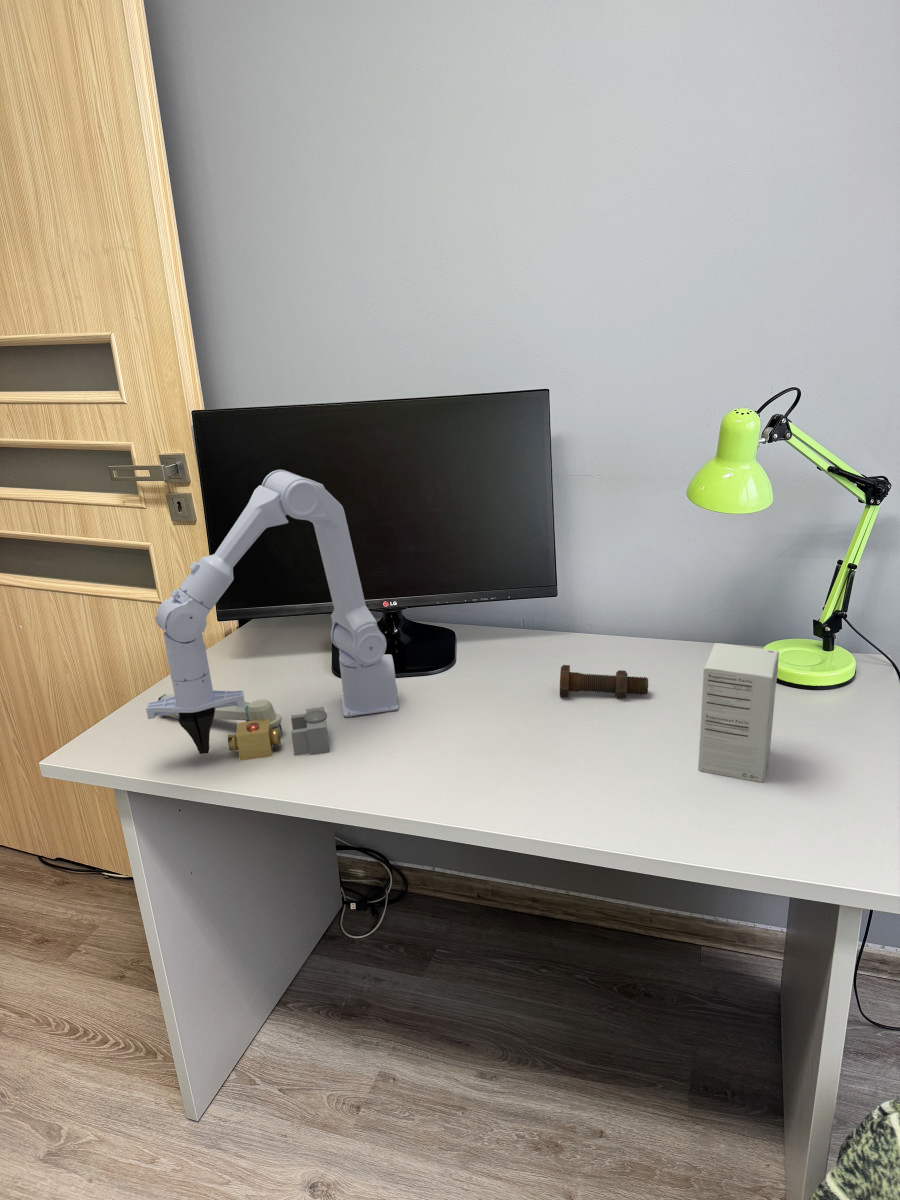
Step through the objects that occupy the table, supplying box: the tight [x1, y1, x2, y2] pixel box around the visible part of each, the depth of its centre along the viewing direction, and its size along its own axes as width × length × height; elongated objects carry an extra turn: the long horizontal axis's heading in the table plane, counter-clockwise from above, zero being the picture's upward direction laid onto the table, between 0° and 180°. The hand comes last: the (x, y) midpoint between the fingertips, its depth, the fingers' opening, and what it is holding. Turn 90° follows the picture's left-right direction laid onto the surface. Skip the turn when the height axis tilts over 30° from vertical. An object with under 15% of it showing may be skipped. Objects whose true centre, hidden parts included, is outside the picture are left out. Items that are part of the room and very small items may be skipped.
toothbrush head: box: [157, 693, 283, 735], centre depth 142 cm, size 5×7×25 cm
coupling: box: [290, 706, 330, 756], centre depth 134 cm, size 6×7×5 cm
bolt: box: [559, 664, 649, 700], centre depth 145 cm, size 6×5×15 cm
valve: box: [227, 719, 282, 762], centre depth 133 cm, size 8×4×5 cm, turn 100°
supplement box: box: [697, 642, 780, 783], centre depth 120 cm, size 10×9×17 cm
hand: (204, 750), depth 132 cm, fingers closed
